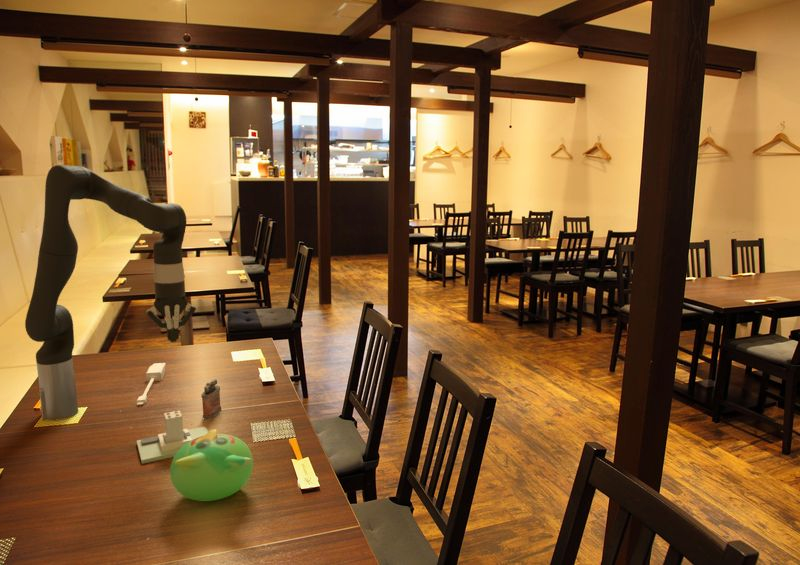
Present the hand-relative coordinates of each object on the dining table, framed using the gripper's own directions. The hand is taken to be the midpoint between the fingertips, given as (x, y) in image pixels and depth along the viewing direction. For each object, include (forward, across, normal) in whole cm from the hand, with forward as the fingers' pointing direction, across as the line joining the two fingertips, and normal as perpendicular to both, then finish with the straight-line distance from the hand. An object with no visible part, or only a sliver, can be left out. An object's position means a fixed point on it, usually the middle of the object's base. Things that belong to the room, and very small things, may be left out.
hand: (173, 341), depth 159 cm
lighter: (+27, -11, -8) cm, 30 cm away
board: (+27, +2, +8) cm, 28 cm away
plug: (+26, +2, +8) cm, 27 cm away
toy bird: (+27, -3, +37) cm, 46 cm away
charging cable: (+28, +3, -40) cm, 49 cm away
